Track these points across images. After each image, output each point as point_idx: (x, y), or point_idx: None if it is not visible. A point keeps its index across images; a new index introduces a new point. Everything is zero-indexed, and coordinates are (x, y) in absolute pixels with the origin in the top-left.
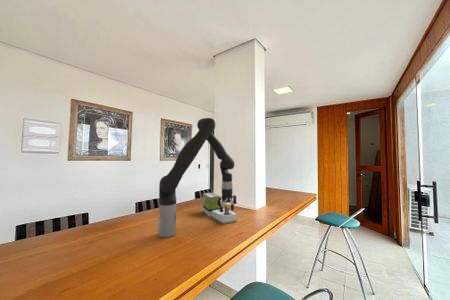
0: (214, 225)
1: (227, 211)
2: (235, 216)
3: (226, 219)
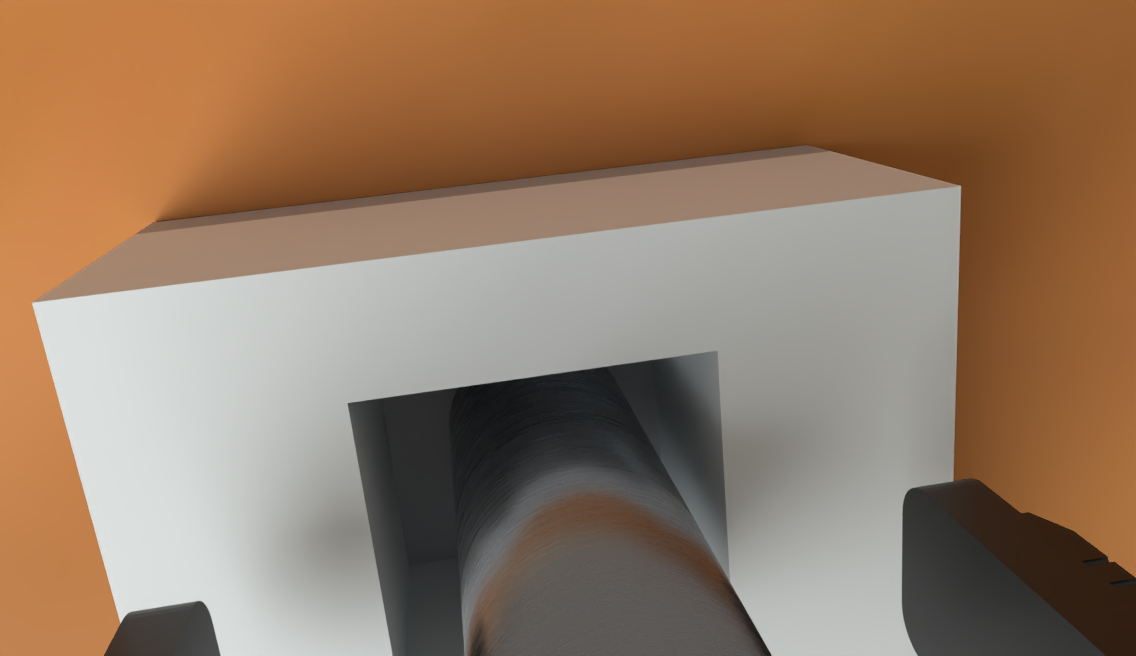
0: (1114, 156)
1: (614, 499)
2: (169, 258)
3: (699, 184)
